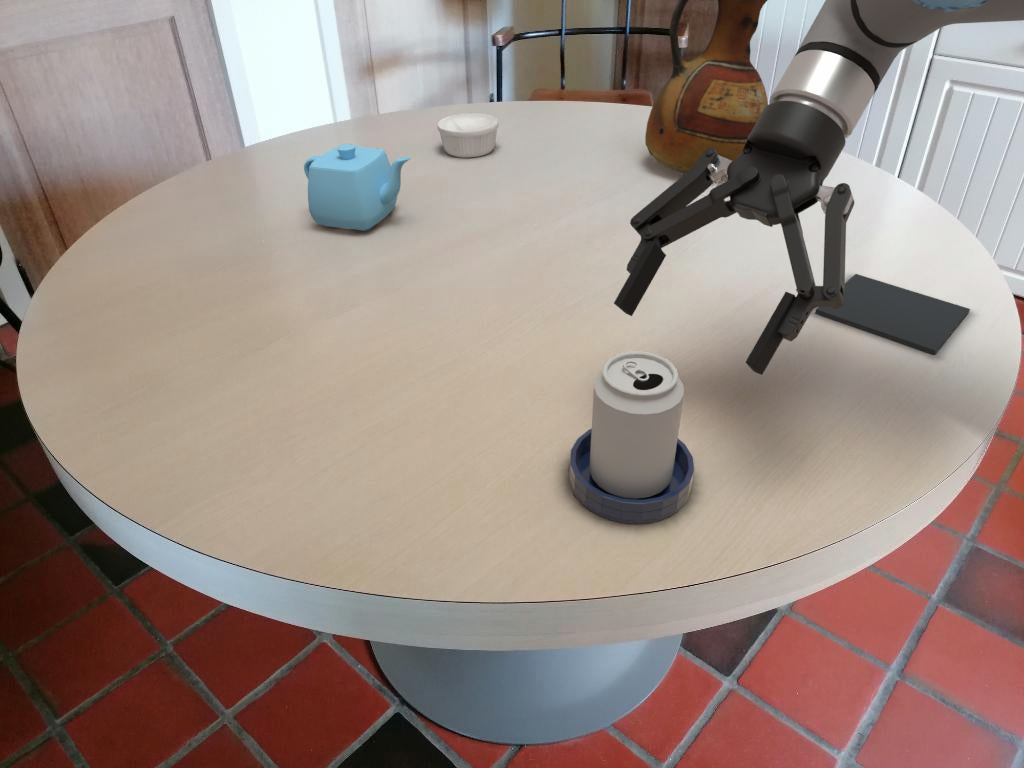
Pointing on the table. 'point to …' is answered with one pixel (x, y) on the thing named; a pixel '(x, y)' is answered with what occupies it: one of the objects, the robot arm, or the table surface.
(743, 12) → the ceramic pitcher
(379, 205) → the teapot
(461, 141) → the ramekin
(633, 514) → the dish
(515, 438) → the table surface
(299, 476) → the table surface
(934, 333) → the mat
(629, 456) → the can
